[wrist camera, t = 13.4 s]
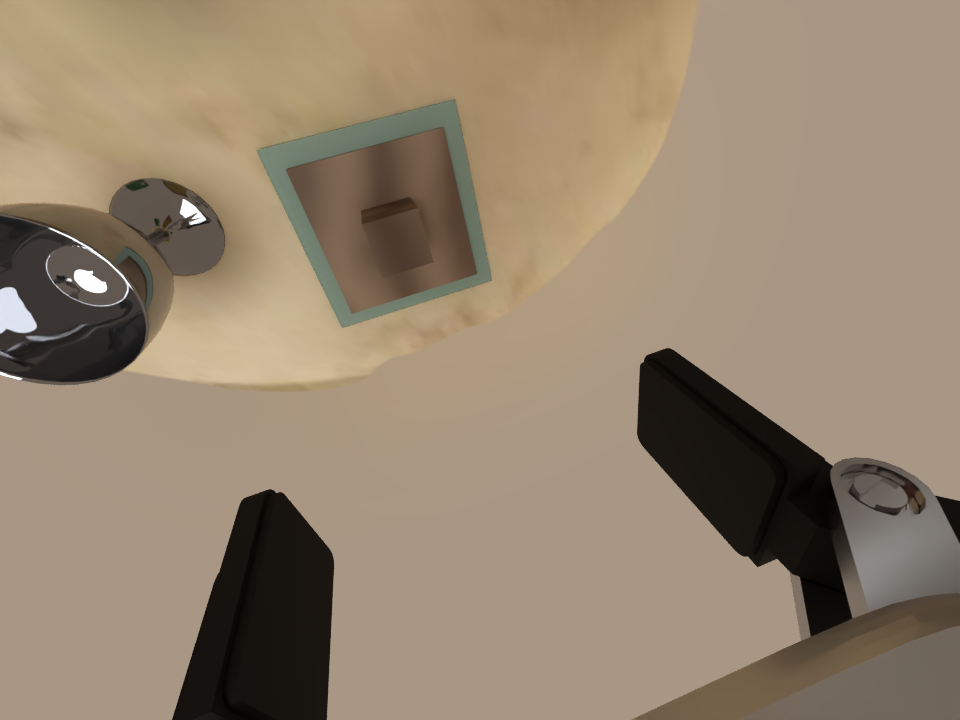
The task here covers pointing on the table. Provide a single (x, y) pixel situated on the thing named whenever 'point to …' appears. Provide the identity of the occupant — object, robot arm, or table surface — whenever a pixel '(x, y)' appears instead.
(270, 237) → the table surface
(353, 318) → the mat
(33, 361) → the wine glass
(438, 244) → the glass cover
